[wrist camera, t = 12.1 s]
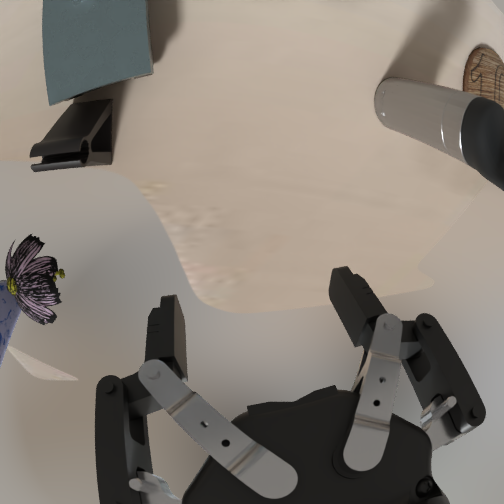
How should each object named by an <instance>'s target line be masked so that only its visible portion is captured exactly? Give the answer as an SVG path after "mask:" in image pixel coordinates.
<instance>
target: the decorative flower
mask: <svg viewBox="0 0 504 504" xmlns="http://www.w3.org/2000/svg"><path fill="white" fill-rule="evenodd" d="M13 244H14V242H13ZM13 244H12V245H11V247H10V249H9V252H8V255H7V259H6V266H5V271H6V278H7V284H6V285H7V290H8V291H9V292H10V293H11V294H12V295H14V297H15V300H16V302H17V303H18V305H19V307H20V308H21V309H22V311H23V312H24V313H25V314H26V315H27V316H29V317H30V318H31V319H33V320H34V321H36V322H38V323H40V324H43V325H45V323H46V324H47V323H53V322H54V320H55V319H56V317H57V316H56V314H55V313H54V312H53V311H52V310H50V309H49V308H47V307H46V306H52V305H56V304H59V303H61V301H60V299H59V296H60V293H58V288H56V285H55V281H56V280H57V278H56V275H60V277H61V278H64V277H65V274H64V270H63V269H59V271H58V266H57V262H56V259H55V258H53V257H50V256H44V257H38V258H35V259H33V258H34V257H35V256H36V255H37V253H39V252H40V250H41V249H42V247H43V245H44V244H45V243H43V242H41V241H40V240H39V237H38V238H36V236H34V237H33V236H31V234H30V235H29V236H28V237H27V238H25V239H24V240H23V241H22V242H21V244H20V245H19V246H18V248H17V249H16V251H15V253H14V255H13V257H11V250H12V246H13Z"/></svg>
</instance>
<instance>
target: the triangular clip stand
mask: <svg viewBox="0 0 504 504" xmlns="http://www.w3.org/2000/svg"><path fill="white" fill-rule="evenodd" d="M112 103H113V100H112V99H111V100H100V101H91V102H83V103H76V104H71V105H70V106H69V107H68V109H67V110H66V111H65V112H64V113H63V115H62V116H61V117H60V118H59V119H58V121H57V122H56V123H55V124H54V126H53V127H52V128H51V130H50V131H49V132H48V134H47V135H46V136H45V138H44V139H43V140H42V141H41V142H39V143H36V144H34V145H33V147H32V149H31V152H30V158H31V157H37V156H42V158H43V159H42V161H41V162H42V163H39V164H32V165H31V169H32V170H33V171H34V172H40V171H47V170H57V169H67V168H78V167H85V166H96V165H111V164H112V133H111V131H112Z"/></svg>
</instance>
